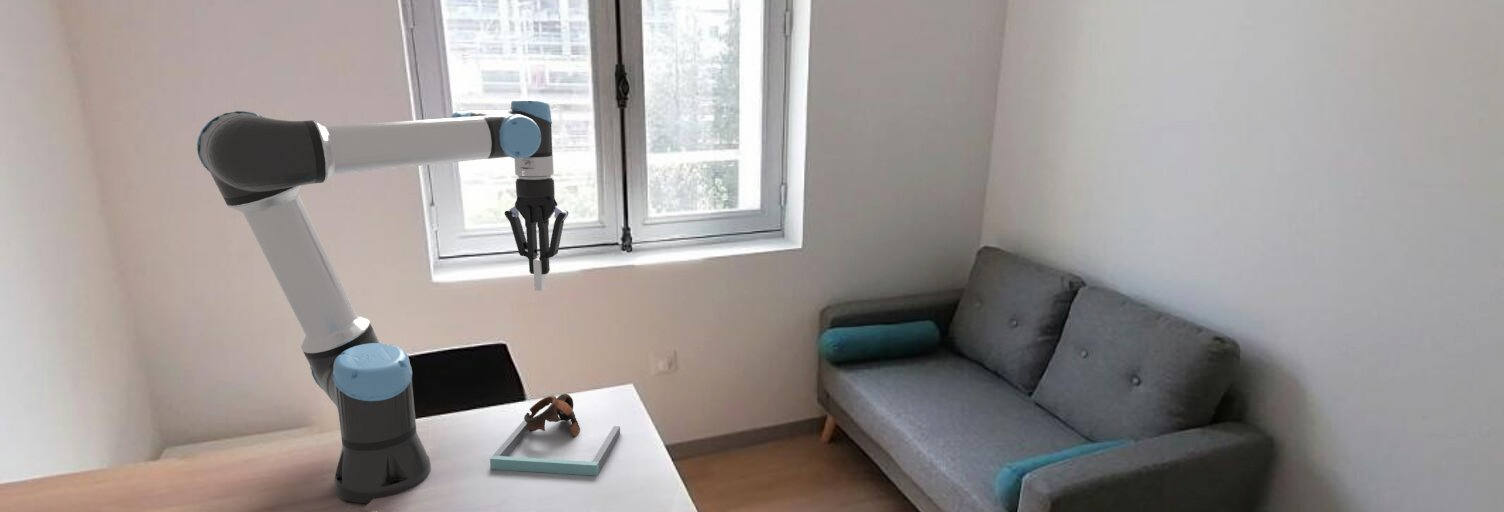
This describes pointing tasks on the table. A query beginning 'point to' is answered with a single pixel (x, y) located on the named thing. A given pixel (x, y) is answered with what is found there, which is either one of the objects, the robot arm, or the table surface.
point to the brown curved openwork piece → (552, 413)
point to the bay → (550, 465)
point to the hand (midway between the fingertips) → (540, 288)
